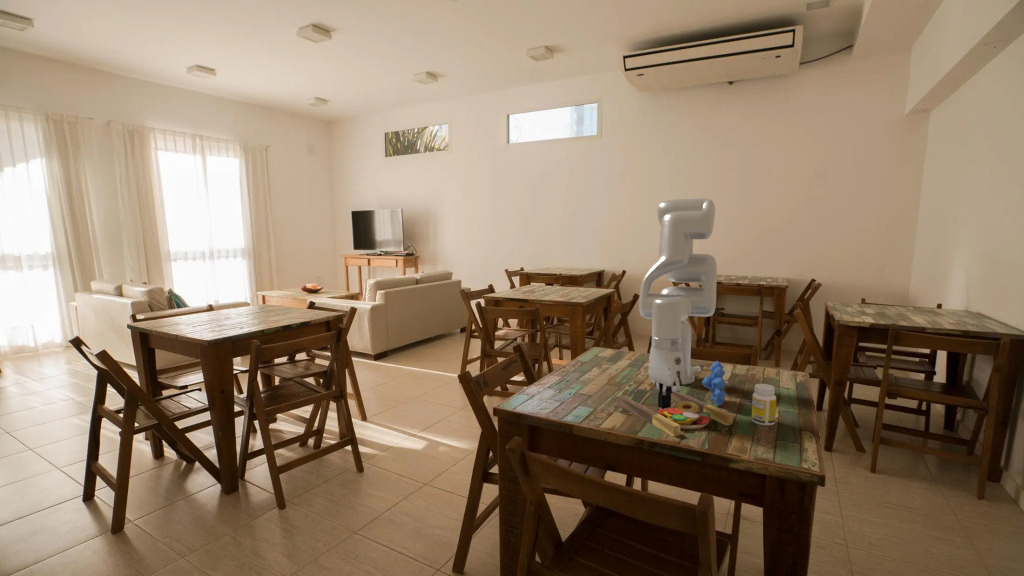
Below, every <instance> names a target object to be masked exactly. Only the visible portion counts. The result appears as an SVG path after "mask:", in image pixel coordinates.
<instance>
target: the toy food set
mask: <svg viewBox="0 0 1024 576" xmlns="http://www.w3.org/2000/svg"><path fill="white" fill-rule="evenodd" d="M657 413H658V414H660V415H662V416H663V417H665V418H667V419H669V420H671V421H673V422H675V423H677V424H679V425H680V430H681V429H683V430H697V429H702V428H704V427H706V426H707V425H708V424H709V423H710V422H711V419H712V418H710V416H711V414H710V413H708V412H699V407H698V406H697V405H696V404H695V403H693V402H689V401H681V402H678V403H677V402H675V404H674V405H673V407H670V408H665V409H662V408H660V409H659V410H658V411H657Z"/></svg>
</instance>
